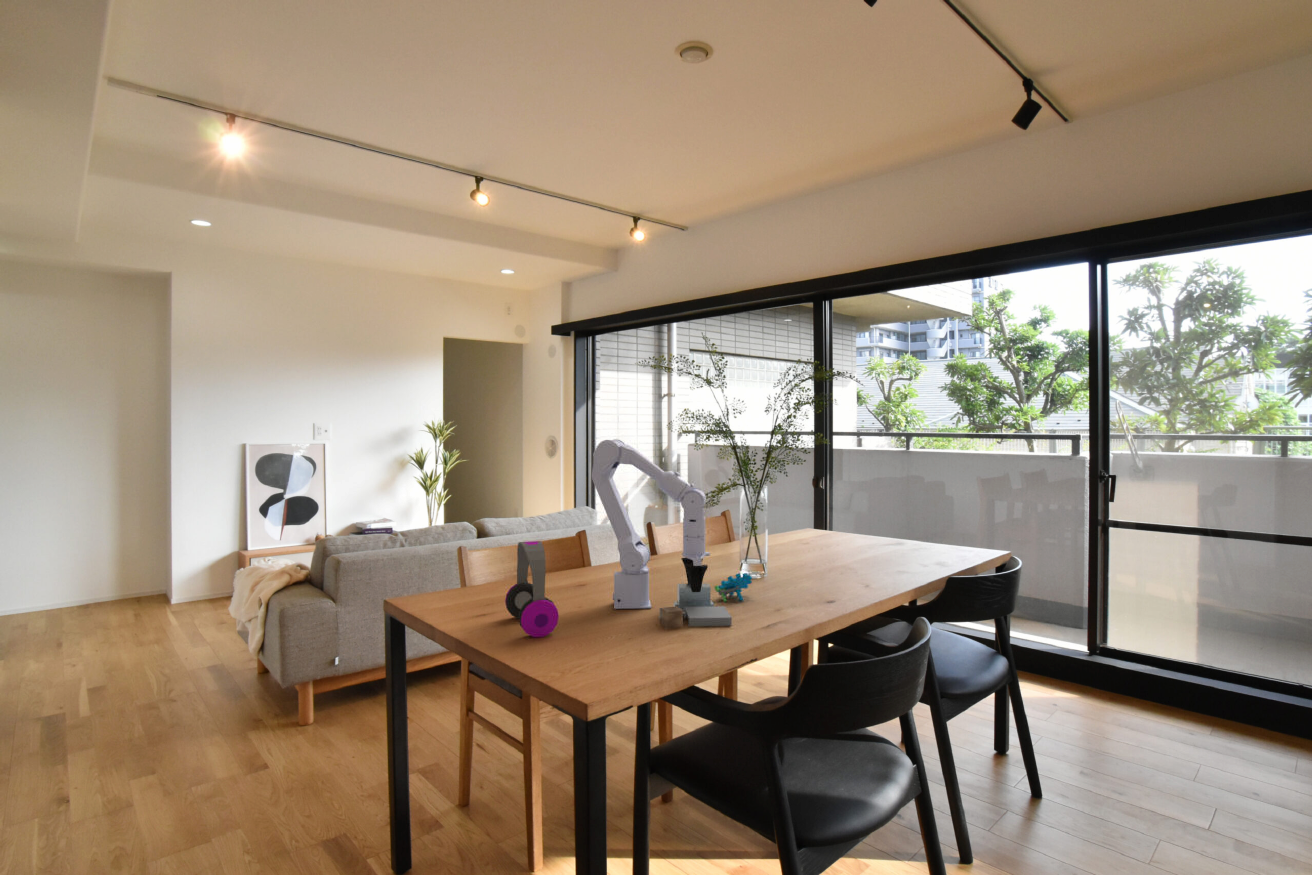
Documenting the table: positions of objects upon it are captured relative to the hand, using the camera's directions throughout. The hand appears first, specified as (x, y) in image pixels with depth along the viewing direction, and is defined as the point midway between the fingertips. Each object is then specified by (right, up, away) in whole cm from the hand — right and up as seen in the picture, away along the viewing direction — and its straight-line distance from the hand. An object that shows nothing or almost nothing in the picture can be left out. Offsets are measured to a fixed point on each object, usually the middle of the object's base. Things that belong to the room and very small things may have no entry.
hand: (694, 588), depth 175 cm
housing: (0, -5, 0) cm, 5 cm away
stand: (+3, -5, -11) cm, 12 cm away
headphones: (-39, -6, -17) cm, 43 cm away
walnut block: (-6, -6, -15) cm, 17 cm away
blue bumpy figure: (+11, -5, +11) cm, 16 cm away
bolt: (-5, -5, -10) cm, 13 cm away
